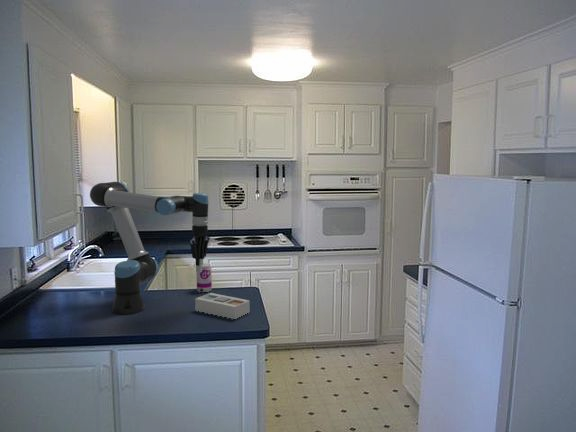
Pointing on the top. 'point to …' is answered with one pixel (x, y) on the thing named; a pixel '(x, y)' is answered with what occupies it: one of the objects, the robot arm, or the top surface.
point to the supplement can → (204, 279)
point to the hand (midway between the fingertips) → (199, 271)
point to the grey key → (222, 299)
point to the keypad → (222, 306)
